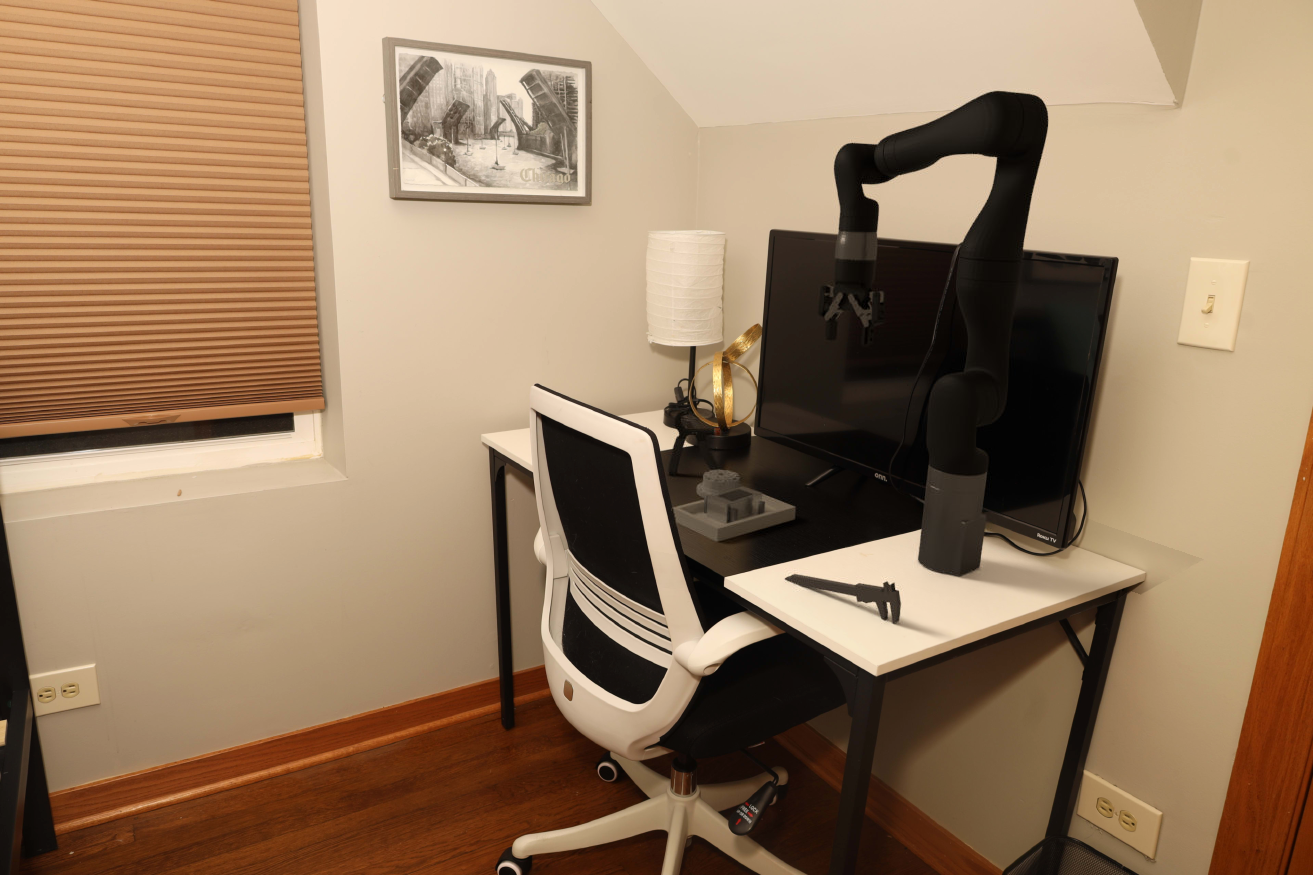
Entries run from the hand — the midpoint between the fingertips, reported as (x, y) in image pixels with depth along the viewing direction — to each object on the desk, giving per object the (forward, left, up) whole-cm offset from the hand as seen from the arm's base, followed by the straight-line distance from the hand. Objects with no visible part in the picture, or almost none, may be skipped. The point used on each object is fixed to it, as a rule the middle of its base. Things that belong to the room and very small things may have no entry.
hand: (848, 343), depth 166 cm
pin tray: (+6, +22, -33) cm, 40 cm away
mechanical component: (+19, +14, -34) cm, 41 cm away
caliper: (-29, +32, -34) cm, 54 cm away
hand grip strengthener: (+30, +11, -33) cm, 46 cm away
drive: (+6, +22, -32) cm, 39 cm away
